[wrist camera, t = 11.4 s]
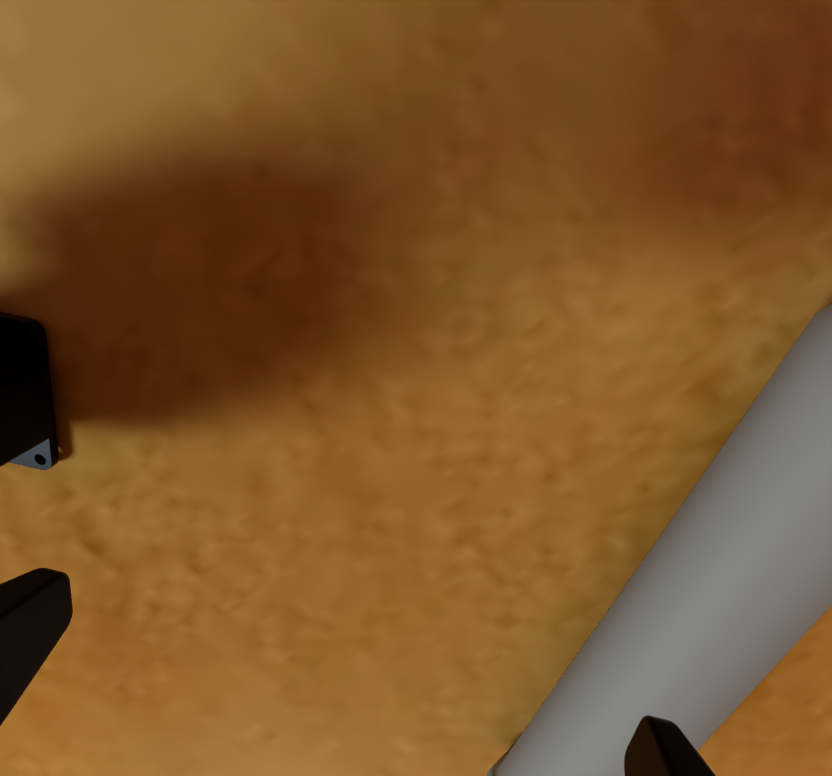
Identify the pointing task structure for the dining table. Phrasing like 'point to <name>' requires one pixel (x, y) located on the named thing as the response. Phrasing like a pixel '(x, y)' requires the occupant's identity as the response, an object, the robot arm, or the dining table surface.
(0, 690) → the robot arm
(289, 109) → the dining table surface
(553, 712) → the tube
